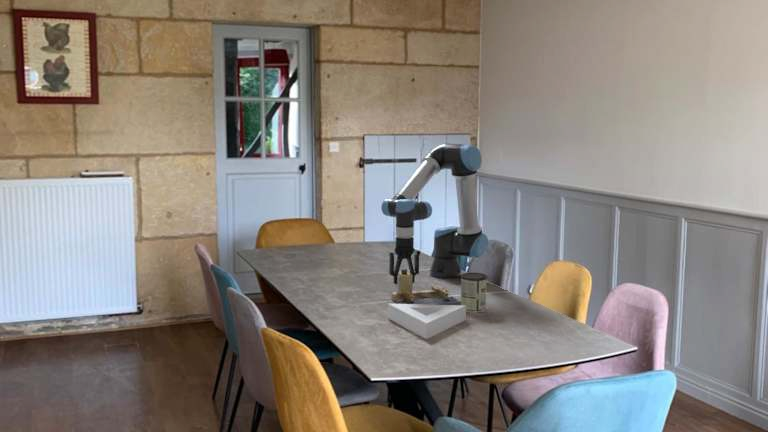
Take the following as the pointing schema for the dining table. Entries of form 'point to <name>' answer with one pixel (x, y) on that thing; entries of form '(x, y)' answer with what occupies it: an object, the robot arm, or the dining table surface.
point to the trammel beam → (422, 294)
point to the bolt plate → (431, 301)
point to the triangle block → (426, 317)
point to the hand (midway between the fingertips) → (403, 290)
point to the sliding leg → (406, 283)
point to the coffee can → (473, 292)
